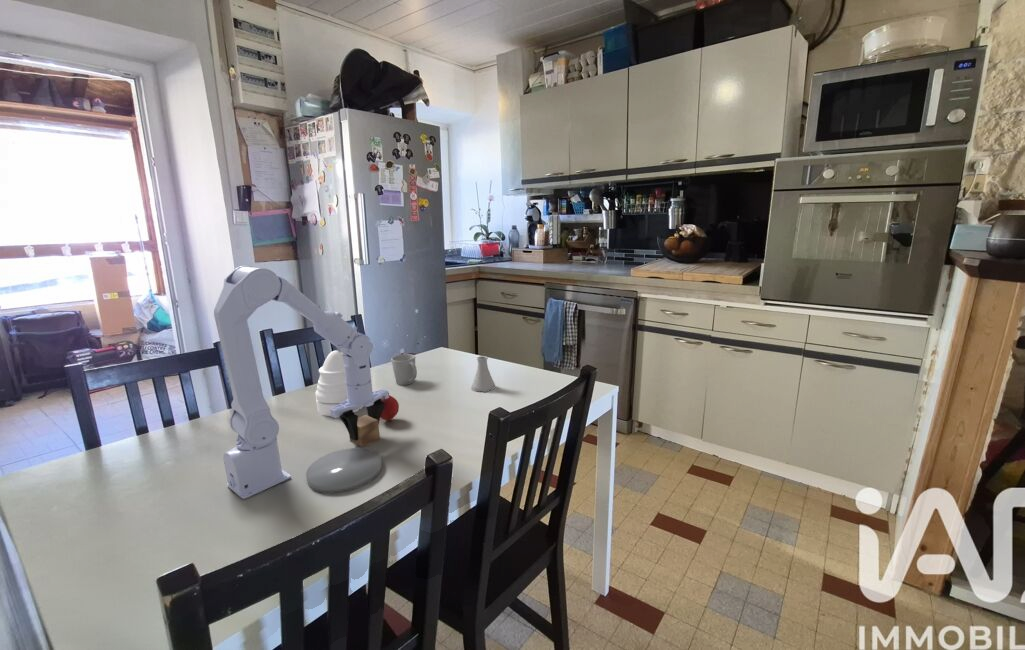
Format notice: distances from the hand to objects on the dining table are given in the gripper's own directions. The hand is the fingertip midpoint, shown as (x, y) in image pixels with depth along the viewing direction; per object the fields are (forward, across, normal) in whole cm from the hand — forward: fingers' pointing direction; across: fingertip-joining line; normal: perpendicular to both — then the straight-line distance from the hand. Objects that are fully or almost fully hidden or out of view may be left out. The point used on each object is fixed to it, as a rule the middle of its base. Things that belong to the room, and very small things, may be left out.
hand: (364, 434), depth 111 cm
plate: (+1, -11, -9) cm, 14 cm away
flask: (+2, +42, -1) cm, 42 cm away
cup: (+2, +31, +22) cm, 38 cm away
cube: (+1, 0, 0) cm, 1 cm away
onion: (+2, +10, +4) cm, 11 cm away
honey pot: (+2, +8, +23) cm, 24 cm away
